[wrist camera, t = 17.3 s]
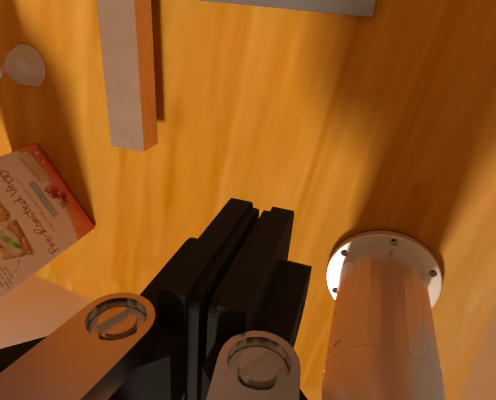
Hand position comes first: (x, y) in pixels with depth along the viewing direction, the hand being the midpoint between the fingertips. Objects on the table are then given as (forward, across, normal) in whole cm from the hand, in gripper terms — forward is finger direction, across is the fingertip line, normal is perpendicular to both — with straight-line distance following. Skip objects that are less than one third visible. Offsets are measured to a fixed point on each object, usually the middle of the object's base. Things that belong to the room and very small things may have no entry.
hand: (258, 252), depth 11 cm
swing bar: (+30, +22, -2) cm, 37 cm away
